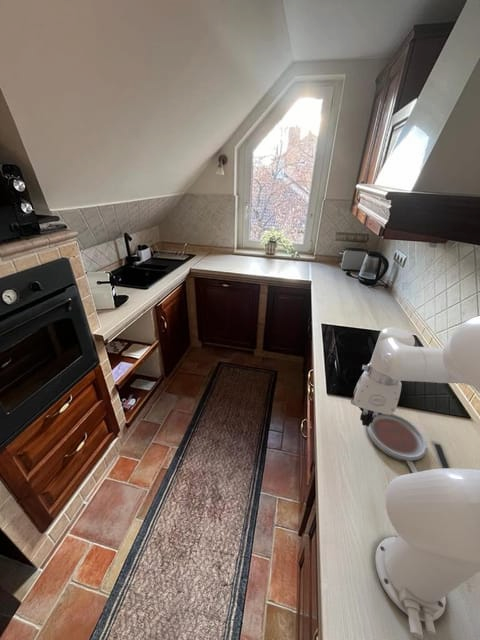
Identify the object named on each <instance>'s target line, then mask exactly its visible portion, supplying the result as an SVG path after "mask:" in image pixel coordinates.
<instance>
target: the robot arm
mask: <svg viewBox="0 0 480 640" xmlns="http://www.w3.org/2000/svg"><path fill="white" fill-rule="evenodd" d="M377 337H378V338H377V341H376V344H375V347H374V350H373V352H372V355H371V359H370V361H369V362H368V364H362V365H361V366H362V367H361V370H363V372H362V374H361V376H360V377H359V379H358V381H357V382H356V385H355V388H354V391H353V396H352V397H351V399H350V404H351V405H353V406H355V407H357V408H359V410H360V411H361V413H360V417H359V420H360V421H362V422H361V425H362V426H363V427H365V426H366V428H367V427H369V425H370V423H372V422H373V419H374V417H377V415H380V414H388V415H391V414H395V413H396V409H397V407H398V403H399V401H400V396H401V392H402V385H403V384H402V382H421V383H422V382H423V383H437V384H464V385H468V386H472V387H473V388H474V390H475V391H476V392H477V393H478V394H480V315H477V316H474V317H473V316H472V317H471V318H469V319H466V320H465V321H464V322H462V323H461V324H459V326H458V327H456V329H455V330H454V332H453V333H452V335H451V337H450V338H449V339H448V340H447V341H446V342H445V344H444V345H443V347H432V346H431V347H430V346H415V344H416V339H415V336H414V335H413V334H411V332H409V331H407V330H406V329H402V328H398V327H392V326H391V327H390V326H389V327H386V328H382V330H381V331H380V332H379V334H378V336H377ZM401 381H402V382H401ZM384 498H385V499H384V501H385V502H384V503H385V510H386V514H387V517H388V520H389V522H390V523H391V525H392V527H393V529H394V530H395V532H396V533H397V534H398V535H397V537H396V536H392V537H391V536H390V537H386V538H384V539H382V540H381V542H380V543H379V544H378V546H377V548H376V550H375V557H374V563H375V570H376V573H377V576H378V579H379V581H380V583H381V585H382V587H383V589H384V591H385V593H386V594H387V595H388V598H390V600H391V601H392V602H393V603H394V604H395V605H396V607H397V608H398V609H400V610H401V611H402V612H403V613H404V614H406V615H407V616H408V625H409V631H410V635H412V637H415V638H417V639H421V640H423V639H424V638H425V637H424V632H423V627H422V622H424V625H425V630H426V633H427V634H429V635H432V636H436V635H437V631H436V628H435V624H434V621H436V620H438V619H439V618H440V617H441V616H443V613H444V612H445V610H446V605H447V595H450V593H452V592H453V591H454V590H455V589H457V588H458V587H460V586H461V585H462V584H464V583H465V582H467V581H468V580H470V579H471V578H472V577H474V576H475V575H477V574H479V573H480V469H474V468H459V467H458V468H456V467H449V468H443V467H442V468H432V469H426V470H422V471H418V472H416V473H413V472H412V473H411V472H410V473H407V474H406V473H405V474H400V475H398V476H396V477H394V478H393V479H392V480H391V481H390V482H389V483H388V486H387V487H386V491H385V497H384Z"/></svg>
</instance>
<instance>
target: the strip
mask: <svg viewBox="0 0 480 640" xmlns="http://www.w3.org/2000/svg"><path fill="white" fill-rule="evenodd" d="M434 446H435V449H436V452H437V454H438V455H437V456H438V457H439V460H440V463H441V466H442V468H450V467H449V464H448V461H447V459H446V455H445V454H444V452H443V449H442V446H441V445H440V444H438V443H434Z"/></svg>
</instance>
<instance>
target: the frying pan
mask: <svg viewBox="0 0 480 640" xmlns="http://www.w3.org/2000/svg"><path fill="white" fill-rule="evenodd" d="M366 428H367V433H368V435H369V438H370V439H371V441H372V442H373V444H374V446H376V447H377V448H378V449H379V450H380V451H381V452H383V453H384V454H385V455H387V456H389V457H391V458H393V459H395V460H399V461H403V462H406V463H407V465H408V467H409V469H410V470H411V472H412V473H416V472H419V471H418V469H417V468H416V466H415V463H414V462H413V461H416V460H420V459H421V458H423V457H424V456H425V455H426V453H427V450H428V448H427V441H426V439H425V437H424V435H423V433H422V432H421V430H420V429H418V427H417V425H415V424H413V423H412V422H411V421H409V419H406V418H404V417H403V416H401V415H399V414H396V413H393V414H391V415H388V414H380V415H377V417H374V419H373V422H372V423H370V425H369V427H367V426H366Z"/></svg>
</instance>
